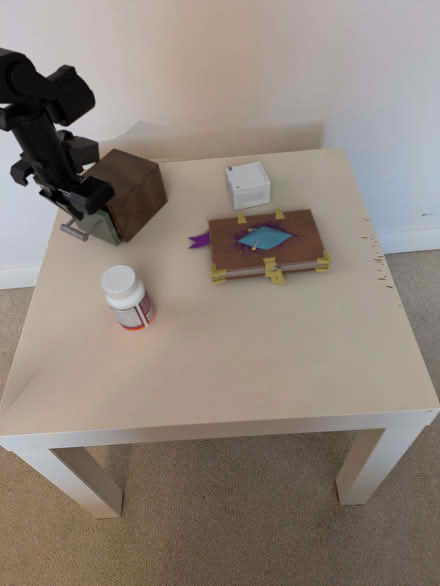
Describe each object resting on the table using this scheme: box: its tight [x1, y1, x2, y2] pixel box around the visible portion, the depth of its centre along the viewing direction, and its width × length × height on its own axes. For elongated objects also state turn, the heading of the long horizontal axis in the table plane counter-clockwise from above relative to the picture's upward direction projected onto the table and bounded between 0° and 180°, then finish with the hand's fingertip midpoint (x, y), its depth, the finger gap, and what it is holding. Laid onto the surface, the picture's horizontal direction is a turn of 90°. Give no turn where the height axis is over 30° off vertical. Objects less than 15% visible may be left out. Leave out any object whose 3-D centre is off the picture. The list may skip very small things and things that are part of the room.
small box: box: [224, 160, 272, 211], centre depth 77 cm, size 8×8×5 cm
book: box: [187, 207, 333, 285], centre depth 68 cm, size 16×25×5 cm, turn 95°
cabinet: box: [80, 147, 169, 244], centre depth 75 cm, size 14×12×10 cm
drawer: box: [59, 206, 122, 247], centre depth 72 cm, size 17×10×8 cm, turn 148°
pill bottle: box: [100, 264, 156, 333], centre depth 59 cm, size 6×6×11 cm
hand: (80, 219), depth 68 cm, fingers closed
